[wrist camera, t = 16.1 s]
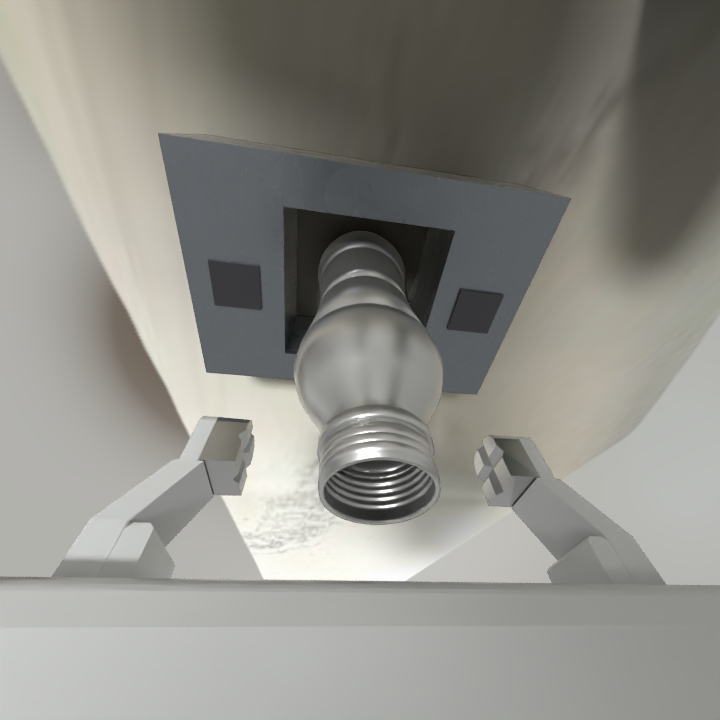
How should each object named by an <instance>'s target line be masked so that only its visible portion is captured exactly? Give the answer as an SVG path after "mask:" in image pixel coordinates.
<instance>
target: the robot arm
mask: <svg viewBox="0 0 720 720" xmlns="http://www.w3.org/2000/svg"><path fill="white" fill-rule="evenodd" d="M252 429H253V424H252V420H244V419H233V418H222V417H208V416H203V417H202V418H201V419H200V420H199V421H198V423H197V425H196V427H195V429H194V431H193V433H192V435H191V437H190V439H189V441H188V443H187V445H186V447H185V448H184V450H183V453H182V454H181V456H180V458H179V459H174V460H172V461H171V462H169V463H168V464H166V465H165V466H164V467H162V468H161V469H159V470H158V471H157V472H155V473H154V474H152V475H151V476H150V477H148V478H147V479H145V480H144V481H143V482H141V483H140V484H138V485H137V486H136V487H134V488H133V489H131V490H130V491H129V492H127V493H126V494H125V495H123V496H122V497H120V498H119V499H118V500H116V501H115V502H113V503H112V504H111V505H109V506H108V507H107V508H105V509H104V510H102V511H101V512H99V513H98V514H97V515H95V516H94V517H92V518H91V519H90V520H89V522H88V523H87V524H86V526H85V527H84V529H83V530H82V532H81V533H80V535H79V536H78V538H77V539H76V541H75V542H74V544H73V545H72V547H71V548H70V550H69V551H68V553H67V554H66V556H65V557H64V559H63V560H62V562H61V563H60V565H59V567H58V568H57V569H56V571H55V572H54V574H53V575H52V577H7V576H5V577H4V576H0V720H720V585H666V584H665V582H664V581H663V579H662V578H661V576H660V575H659V573H658V572H657V571H656V569H655V568H654V566H653V565H652V563H651V562H650V561H649V559H648V558H647V556H646V555H645V553H644V552H643V551H642V549H641V548H640V546H639V545H638V543H637V542H636V541H635V539H634V538H633V536H631V535H630V534H629V533H628V532H626V531H625V530H624V529H622V528H621V527H620V526H619V525H617V524H616V523H615V522H613V521H612V520H611V519H610V518H608V517H607V516H606V515H605V514H603V513H602V512H601V511H600V510H598V509H597V508H596V507H594V506H593V505H592V504H591V503H589V502H588V501H587V500H586V499H584V498H583V497H582V496H581V495H579V494H578V493H577V492H576V491H574V490H573V489H572V488H570V487H569V486H568V485H567V484H565V483H564V482H563V481H562V480H560V479H556V478H555V477H554V475H553V473H552V472H551V470H550V468H549V467H548V465H547V463H546V462H545V460H544V459H543V457H542V455H541V454H540V452H539V450H538V449H537V447H536V445H535V444H534V442H533V441H532V440H531V439H530V438H523V437H511V436H492V435H488V436H486V437H485V438H484V440H483V441H482V442H483V445H484V446H483V447H481V448H480V449H478V450H477V452H476V454H475V456H474V467H475V471H476V474H477V476H478V477H479V478H480V479H481V480H482V481H483V485H482V490H483V492H484V495H485V498H486V500H487V503H488V506H503V507H512V510H513V511H514V512H515V513H516V514H517V515H518V516H519V517H520V519H521V520H522V521H523V522H524V523H525V524H526V525H527V527H528V528H529V529H530V530H531V531H532V532H533V533H534V534H535V536H537V538H538V539H539V540H540V541H541V542H542V543H543V545H544V546H545V547H546V548H547V549H548V550H549V551H550V552H551V554H552V555H553V556H554V557H555V558H556V559H557V560H558V561H557V562H556V563H554V564H553V565H552V566H550V567H549V569H548V571H547V573H548V575H549V578H550V580H551V582H552V583H490V582H489V583H488V582H412V581H411V582H410V581H409V582H408V581H334V580H253V579H252V580H251V579H250V580H249V579H248V580H247V579H246V580H245V579H172V578H171V575H172V573H173V570H174V568H175V565H174V562H173V561H172V559H171V557H170V555H169V554H168V552H167V550H166V548H165V547H166V546H167V544H169V542H170V541H171V540H172V539H173V538H174V537H175V536H176V535H177V534H178V533H179V532H180V531H181V530H182V529H183V528H184V527H185V526H186V525H187V524H188V523H189V521H191V520H192V518H193V517H194V516H195V515H196V514H197V513H198V512H199V511H200V510H201V509H202V508H203V507H204V506H205V505H206V504H207V503H208V502H209V501H210V500H211V499H212V498H213V495H242V491H243V488H244V485H245V481H246V478H247V473H246V468H247V467H248V466H249V465H250V464H251V461H252V457H253V451H254V436H253V435H252V434H251V432H252Z"/></svg>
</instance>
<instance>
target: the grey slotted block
mask: <svg viewBox="0 0 720 720" xmlns="http://www.w3.org/2000/svg"><path fill="white" fill-rule="evenodd" d="M158 135H159V140H160V145H161V150H162V155H163V160H164V165H165V170H166V175H167V180H168V185H169V190H170V195H171V200H172V205H173V210H174V215H175V219H176V224H177V229H178V234H179V239H180V244H181V249H182V254H183V259H184V264H185V269H186V274H187V279H188V284H189V289H190V294H191V298H192V303H193V308H194V313H195V318H196V323H197V328H198V333H199V338H200V343H201V348H202V353H203V358H204V363H205V368H206V372H207V373H219V374H232V375H244V376H256V377H268V378H280V379H293V380H295V379H294V362H295V358H296V355H297V352H298V349H299V347H300V344H301V341H302V339H303V338H304V336H305V334H306V332H307V331H308V329H309V327H310V325H311V324H312V322H313V320H314V318H315V317H306V316H297V315H296V279H297V209H304V210H311V211H318V212H325V213H332V214H339V215H346V216H354V217H361V218H368V219H375V220H382V221H389V222H397V223H404V224H411V225H418V226H425V227H428V231H427V235H426V239H425V243H424V247H423V251H422V255H421V259H420V263H419V267H418V271H417V275H416V279H415V283H414V287H413V291H412V295H411V299H410V303H409V305H410V307H411V309H412V311H413V312H414V314H415V315H416V316H417V318H418V319H419V320H420V322H421V323H422V325H423V326H424V327H425V328H426V330H427V331H428V333H429V334H430V336H431V337H432V339H433V341H434V343H435V344H436V346H437V348H438V350H439V353H440V356H441V358H442V364H443V385H442V392H451V393H463V394H475V395H477V393H478V391H479V389H480V387H481V384H482V382H483V380H484V378H485V376H486V374H487V372H488V370H489V368H490V366H491V364H492V362H493V360H494V357H495V355H496V353H497V351H498V349H499V347H500V345H501V343H502V341H503V339H504V337H505V335H506V333H507V331H508V328H509V326H510V324H511V322H512V320H513V318H514V316H515V314H516V312H517V310H518V308H519V306H520V304H521V301H522V299H523V297H524V295H525V293H526V291H527V289H528V287H529V285H530V283H531V281H532V279H533V277H534V275H535V272H536V270H537V268H538V266H539V264H540V262H541V260H542V258H543V256H544V254H545V252H546V250H547V248H548V245H549V243H550V241H551V239H552V237H553V235H554V233H555V231H556V229H557V227H558V225H559V223H560V221H561V219H562V216H563V214H564V212H565V210H566V208H567V206H568V204H569V202H570V200H571V198H568V197H564V196H560V195H557V194H553V193H549V192H546V191H542V190H538V189H535V188H531V187H527V186H524V185H518V184H512V183H506V182H499V181H493V180H487V179H481V178H474V177H468V176H462V175H456V174H449V173H443V172H437V171H431V170H424V169H418V168H412V167H406V166H399V165H393V164H387V163H381V162H374V161H368V160H362V159H356V158H349V157H343V156H337V155H331V154H324V153H318V152H312V151H306V150H299V149H293V148H287V147H281V146H274V145H268V144H262V143H256V142H249V141H243V140H237V139H231V138H224V137H218V136H212V135H206V134H169V133H158Z"/></svg>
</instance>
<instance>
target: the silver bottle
mask: <svg viewBox="0 0 720 720" xmlns="http://www.w3.org/2000/svg"><path fill="white" fill-rule="evenodd" d="M318 280H319V287H320V292H321V302H320V305H319V309H318V312H317V315H316V316H315V318H314V320H313V322H312V324H311V325H310V327H309V329H308V331H307V332H306V334H305V336H304V338H303V339H302V341H301V344H300V347H299V349H298V352H297V355H296V358H295V362H294V379H295V384H296V389H297V393H298V397H299V401H300V403H301V405H302V406H303V408H304V410H305V412H306V413H307V414H308V416H309V417H310V419H311V420H312V421H313V423H314V424H315V425H316V426H317V428H318V429H319V430H320V431H321V432H320V435H319V441H318V453H317V454H318V459H319V462H320V467H319V480H318V490H319V497H320V500H321V502H322V504H323V505H324V507H325V508H326V509H328V510H329V511H330V512H331V513H333V514H334V515H336V516H338V517H340V518H342V519H345V520H348V521H351V522H355V523H361V524H370V525H385V524H393V523H399V522H403V521H407V520H410V519H412V518H415V517H417V516H419V515H421V514H423V513H425V512H426V511H427V510H429V509H430V508H431V507H432V506H433V505H434V504H435V503H436V501H437V500H438V498H439V495H440V490H441V489H440V479H439V475H438V471H437V468H436V464H435V460H434V457H433V456H434V446H433V441H432V437H431V434H430V431H429V429H428V427H427V424H428V422H429V421H430V419H431V417H432V415H433V413H434V411H435V409H436V407H437V405H438V402H439V400H440V397H441V393H442V385H443V364H442V358H441V356H440V353H439V350H438V348H437V346H436V344H435V343H434V341H433V339H432V337H431V336H430V334H429V333H428V331H427V330H426V328H425V327H424V326H423V325H422V323H421V322H420V320H419V319H418V318H417V316H416V315H415V314H414V312H413V311H412V309H411V307H410V305H409V303H408V301H407V299H406V295H405V269H404V264H403V261H402V259H401V256H400V255H399V253H398V252H397V250H396V249H395V248H394V247H393V246H392V245H391V243H390V242H388V241H387V240H385V239H384V238H382V237H381V236H379V235H377V234H374V233H372V232H367V231H353V232H349V233H346V234H344V235H342V236H340V237H338V238H337V239H336V240H335V241H333V242H332V243H331V244H330V245H329V246H328V247H327V249H326V250H325V251H324V253H323V255H322V257H321V259H320V263H319V268H318Z"/></svg>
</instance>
